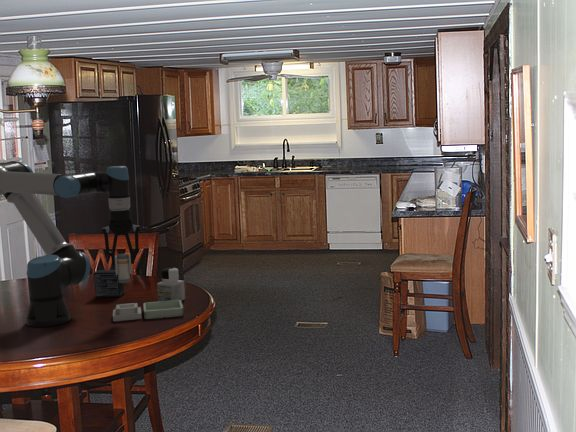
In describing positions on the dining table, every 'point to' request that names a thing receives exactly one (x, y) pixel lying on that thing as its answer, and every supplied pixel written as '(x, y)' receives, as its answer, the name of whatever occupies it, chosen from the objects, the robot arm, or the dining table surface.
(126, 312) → the holder
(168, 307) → the tray
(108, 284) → the small box
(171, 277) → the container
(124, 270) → the fuse
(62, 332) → the dining table surface
